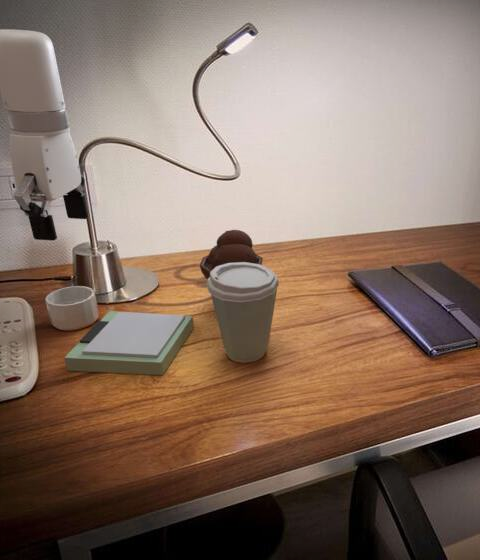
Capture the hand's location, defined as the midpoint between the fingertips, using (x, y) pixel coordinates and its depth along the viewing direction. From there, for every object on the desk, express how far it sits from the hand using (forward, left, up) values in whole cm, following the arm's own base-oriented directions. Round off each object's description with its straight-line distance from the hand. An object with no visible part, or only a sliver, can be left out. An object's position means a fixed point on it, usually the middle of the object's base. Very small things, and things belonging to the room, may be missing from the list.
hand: (62, 228), depth 86 cm
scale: (+13, -10, -16) cm, 23 cm away
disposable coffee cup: (+31, -10, -16) cm, 37 cm away
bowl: (0, -3, -16) cm, 16 cm away
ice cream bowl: (+25, +5, -16) cm, 31 cm away
